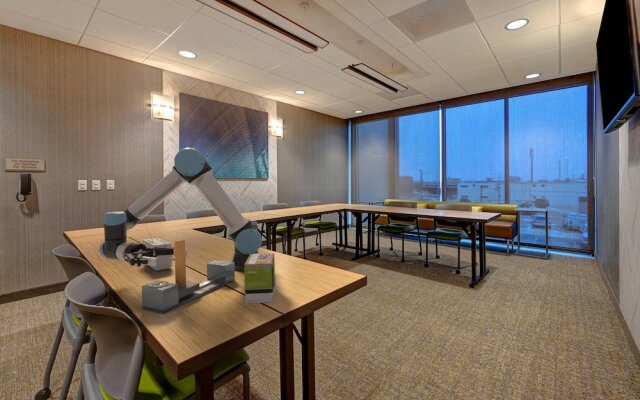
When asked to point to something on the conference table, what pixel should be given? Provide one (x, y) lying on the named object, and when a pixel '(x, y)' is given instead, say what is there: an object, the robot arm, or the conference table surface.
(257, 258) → the tea box
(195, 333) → the conference table surface
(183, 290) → the carriage
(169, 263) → the stereo radio cassette player
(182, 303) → the rail
